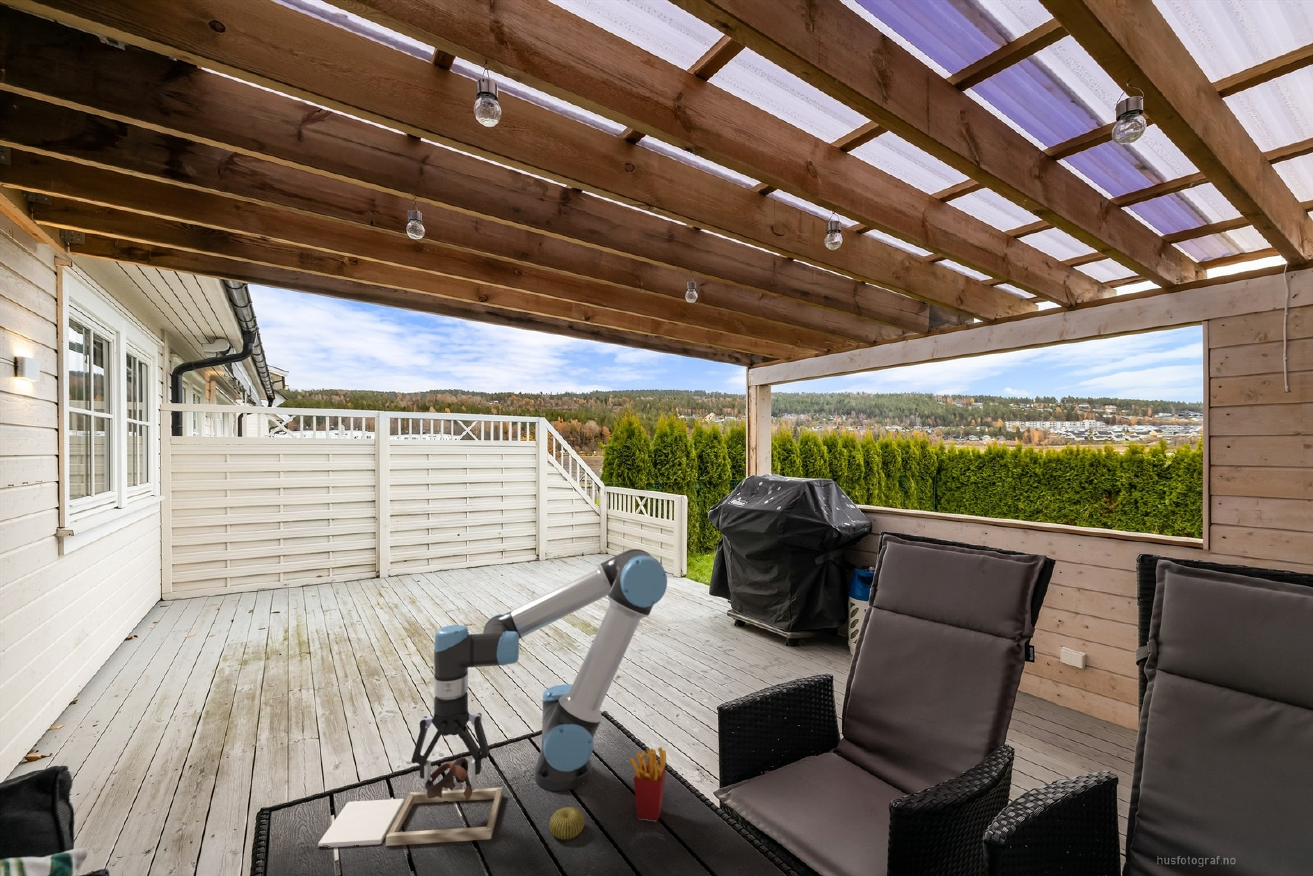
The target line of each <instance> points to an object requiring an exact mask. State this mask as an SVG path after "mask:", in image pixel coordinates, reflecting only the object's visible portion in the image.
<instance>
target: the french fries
mask: <svg viewBox="0 0 1313 876" xmlns="http://www.w3.org/2000/svg"><path fill="white" fill-rule="evenodd" d="M657 750H658V753H659V760H658V759H657V753H656V752H657V751H656V749H654V748H652V747H651V749H650V748H648V749H647V750H646V751H645V750H643V752H642V753H640V752H639V751H638V752H637V753H635V756H636V759H637V761H638V765H637V762H636V761H635V759H634V758H633V757H631V758H629V762H630V764H631V767H632V768H633V771H634V772H635V773H634V774H635V776H634V778H633V782H634V794H635V795H634V796H635V805H636V806H635V807H636V817H637V818H639V819H648V820H656V821H659V820H658V818H659V819H660V817H659V815H660V816H661V814H660V812H661V813H662V811H661V809H662V810H663V801H664V792H665V791H664V790H665V778H666V769H667V768H666V767H665V766H666V763H667V753H666V750H665V749H663V747H662V746H661V747H658V748H657ZM646 754H647V763H646V761H645V759H644V758H645V756H646Z"/></svg>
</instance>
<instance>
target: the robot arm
mask: <svg viewBox="0 0 1313 876" xmlns="http://www.w3.org/2000/svg"><path fill="white" fill-rule="evenodd" d="M667 587H668V577H667V573H666V571H665V568H664V567H663V565H662V563H661V562H660V561H659V560H658V559H657V558H655V557H653V556H652V555H651V554H650V553H649V552H648V551H645V550H643V549H639V548H634V549H633V548H632V549H628V550H625V551H623V552H620V553H619V554H617V555H614V556H613V557H611V558H608V559H607V560H605V561H604V562H601V563H599V564H598V566H597V568H596V569H595V570H593V571H590V572H589V573H587V574H584V575H583V576H581V577H579V578H577V579H575V580H573V581H570V582H569V583H568V582H567V584H565V585H562V586H560V587H558V588H556V589H554V590H552V591H550V592H548V593H546V594H544V595H541V596H539V597H538V598H536V599H533V600H531V601H529V602H527V603H525V604H522V605H521V606H519V607H517V608H515V609H512V610H510V611H509V612H506V613H504V614H501V613H499V614H495V615H493V616H491V617H490V618H489V619H488V621H487V622H486V623H485V625H484V627H483V631H482V633H474V634H472V633H470V632H469V629H468V627H467V626H465V625H461V624H452V625H447V626H443V627H441V628H439V629H438V630H437V631H436V632H435V634H434V649H433V653H434V654H433V656H434V657H433V660H434V661H433V663H434V665H433V667H434V676H433V677H434V678H433V679H434V681H433V683H434V687H433V688H434V692H433V693H434V696H435V697H434V699H433V701H434V702H433V703H434V704H433V708H434V710H433V713H434V714H433V716H430V717H429V716H427V715H426V716H423V717H422V718H421V720H420V721H419V733H418V737H417V740H416V743H415V747H414V751H413V754H412V757H411V764H417V765H419V777H420V779H422V780H423V779H424V780H423V784H424V785H423V790H424V791H423V792H424V795H427V789H426V788H425V784H426V782H427V780H428V779H429V780H430V782H431V780H432V778H431V774H432V760H431V759H428V758H429V757H430V755H431V753H432V752H433V750H434V748H435V747H436V746H437V745H436V744H438V741H439V739H440V737H441V736H442V737H444V736H445V737H447V736H457V735H458V737H459V738H460V740H462V741H463V743H464V745H465V746H466V748H467V750H468V751H469V753H470V755H471V757H472V760H471V764H470V765H471V766H470V767H471V774H470V775H471V776H470V777H471V780H470V781H471V782H470V784H471V788H472V791H475V789H477V786H478V775H480V773H481V771H482V760H483V759H487V758H488V756H489V754H490V747H489V743H488V741H487V737H486V734H485V730H484V728H483V724H482V719H483V718H482V713H481V712H478V713H476V714H470V712H469V694H468V689H469V673H468V672H469V670H468V669H469V668H477V667H478V668H482V667H496V666H503V667H504V666H507V665H513V664H516V663H517V662H518V661H519V659H520V657H519V656H520V639H522V638H524V637H526V636H528V635H530V634H532V633H534V632H536V631H538V630H541V629H542V628H544V627H547V626H548V625H550V624H553V623H554V622H556V621H558V620H561V619H563V618H564V617H566V616H567V617H568V615H569V616H570V615H571V614H573V613H576V612H578V611H579V610H580V609H582V608H585V607H587V606H589V605H591V604H593V603H595V602H598V601H599V600H601V599H603V598H605V597H607V598H608V601H609V605H608V608H607V610H606V612H605V615H604V617H603V619H602V621H601V623H600V625H599V627H598V630H597V632H596V634H595V636H594V638H593V640H592V643H590V644H591V645H590V647H589V649H588V651H587V654H586V655H585V657H584V659H583V661H582V664H581V666H580V668H579V670H578V672H577V675H576V677H575V679H574V681H573V683H572V684H557V685H554V686H550V687H548V688H546V689H545V690H544V691H543V694H542V699H541V703H542V721H541V722H542V723H541V725H542V726H541V728H542V730H541V736H542V737H541V741H542V742H541V743H542V744H541V750H540V752H539V755H538V758H537V761H536V764H535V767H534V768H535V769H534V780H535V783H536V784H537V785H538V786H540V787H541V788H543V789H545V790H547V791H556V792H564V791H571V790H575V789H577V788H580V787H581V785H582V784H583V783H585V784H586V783H588V781H589V780H590V779H591V778H590V776H591V777H592V775H593V773H592V772H593V767H592V766H593V764H592V763H593V762H592V761H591V756H592V753H593V749H594V737H595V734H596V732H597V731H598V728H599V725H600V724H601V721H602V719H603V716H602V713H601V706H602V705H603V702H604V700H605V698H606V696H607V693H608V691H609V689H610V687H611V685H612V682H613V680H614V678H615V676H616V674H617V671H618V669H619V667H620V665H621V662H622V660H623V658H624V657H625V654H626V651H627V650H628V647H629V645H630V643H631V641H632V639H633V637H634V634H635V633H636V630H637V627H638V625H639V623H640V622H641V620H642V619H644V618H646V617H649V616H650V614H651V611H652V609H653V607H654V605H655V604H657V603H658V602H660V601H661V600H662V598H663V597H664V596H665V593H666V590H667ZM469 722H470V723H471V725H472V726H473V727H474V728H473V729H474V732H475V737H476V739H477V743H478V745H477V743H476V741H475V739H474V737H473V736H472V734H471V732H470V731H469V728H468V726H467V724H468V723H469ZM431 724H432V725H433V726H434V727H435V729H436V730H437V731H436V732H435V734H434V736H433V738H432V740H431V742H429V745H428V747H427V748H426V750H425V752H424V754H423V755H422V754H421V753H422V750H423V746H424V743H425V740H426V737H427V736H426V735H427V732H428V729H429V728H430V726H431ZM591 774H592V775H591ZM589 778H590V779H589ZM588 779H589V780H588ZM587 780H588V781H587ZM583 785H584V784H583ZM583 785H582V786H583ZM579 786H580V787H579ZM576 787H577V788H576ZM574 788H575V789H574ZM570 789H571V790H570Z"/></svg>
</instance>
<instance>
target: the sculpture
mask: <svg viewBox="0 0 1313 876" xmlns="http://www.w3.org/2000/svg"><path fill="white" fill-rule="evenodd" d="M548 823H549V824H548V827H549V832H550V833H551V834H552V835H553V836H554V837H555V838H557V839H560V840H570V839H573V838H576V837H578V836H579V834H581V833H582V831H583V829H584V828H585V817H584V814H583V812H582V811H581V810H579V809H578V808H576V807H574V806H565V807H561V808H559V809H556V811H554V812H553V813H552V815H551V816H550V819H549V822H548ZM571 824H572V826H571Z"/></svg>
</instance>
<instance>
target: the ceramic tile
mask: <svg viewBox="0 0 1313 876" xmlns="http://www.w3.org/2000/svg"><path fill="white" fill-rule="evenodd" d="M404 799H405V798H392V799H377V800H375V799H374V800H357V801H354V800H353V801H347V803H346V804H345V805H344V807H343V808H342V810H341V811H340V812H339V814H338V815H337V816H336V818H335V819H334V821H333V822H332V824H331V825H330V826H329V828H328V829H327V830H326V832H325V833H324V834H323V836H322V837H321V838H320V840H319V841H318V844H317V847H318V846H323V845H328V846H330V847H329V848H340V847H343V848H344V847H353V846H354V845H355V846H356V845H359V846H373V845H381V844H382V843H383V841H384V839H385V838H386V836H387V834H388V832H389V830H390V828H391V827H392V825H393V823H394V821H395V819H396V817H397V816H398V814H399V812H400V810H401V808H402V807H403V805H404V803H405V802H404V801H405V800H404ZM355 846H354V847H355Z"/></svg>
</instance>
